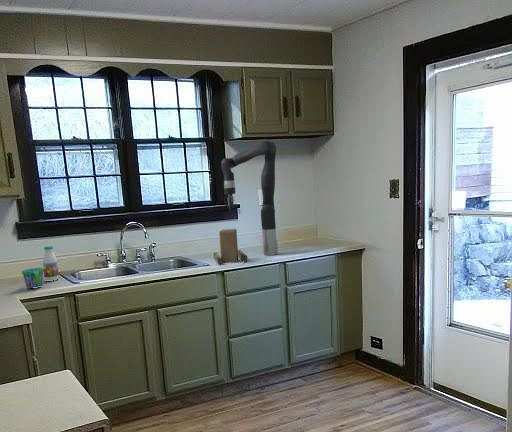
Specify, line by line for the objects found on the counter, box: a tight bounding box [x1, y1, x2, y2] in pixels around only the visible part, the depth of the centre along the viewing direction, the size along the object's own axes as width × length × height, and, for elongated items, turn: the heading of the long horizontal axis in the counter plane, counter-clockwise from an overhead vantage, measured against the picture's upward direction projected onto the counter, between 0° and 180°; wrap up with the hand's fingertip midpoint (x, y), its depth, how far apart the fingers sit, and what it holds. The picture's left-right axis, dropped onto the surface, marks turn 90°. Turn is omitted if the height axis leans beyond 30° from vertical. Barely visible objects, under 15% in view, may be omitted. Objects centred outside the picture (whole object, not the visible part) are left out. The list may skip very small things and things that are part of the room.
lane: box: [213, 249, 248, 266], centre depth 298 cm, size 18×26×4 cm
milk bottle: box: [42, 245, 60, 281], centre depth 267 cm, size 8×8×20 cm
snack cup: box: [21, 267, 44, 289], centre depth 250 cm, size 16×10×10 cm
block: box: [218, 228, 239, 263], centre depth 295 cm, size 10×10×20 cm
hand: (231, 212), depth 322 cm, fingers closed
